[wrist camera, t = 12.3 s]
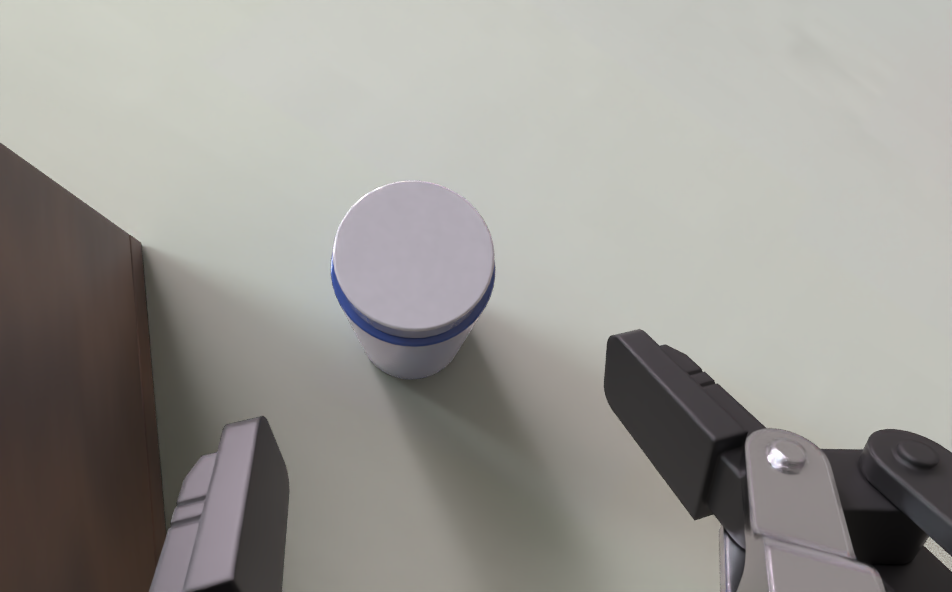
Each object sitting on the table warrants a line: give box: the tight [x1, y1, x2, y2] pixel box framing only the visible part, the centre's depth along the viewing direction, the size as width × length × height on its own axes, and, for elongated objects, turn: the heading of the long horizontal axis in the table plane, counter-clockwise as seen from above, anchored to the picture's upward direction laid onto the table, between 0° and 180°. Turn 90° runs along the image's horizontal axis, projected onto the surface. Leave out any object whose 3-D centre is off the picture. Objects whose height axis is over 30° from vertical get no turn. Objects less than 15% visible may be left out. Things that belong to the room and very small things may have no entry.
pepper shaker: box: [331, 181, 495, 379], centre depth 16 cm, size 4×4×9 cm
